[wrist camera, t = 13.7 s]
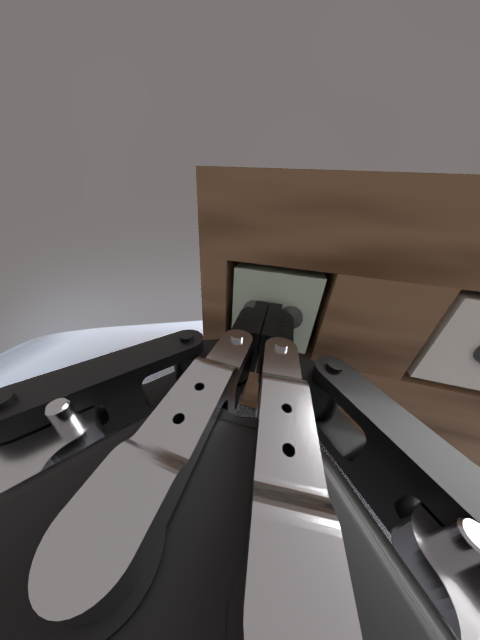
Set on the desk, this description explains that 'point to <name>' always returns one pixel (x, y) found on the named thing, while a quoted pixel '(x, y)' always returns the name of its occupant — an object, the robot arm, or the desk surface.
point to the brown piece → (354, 269)
